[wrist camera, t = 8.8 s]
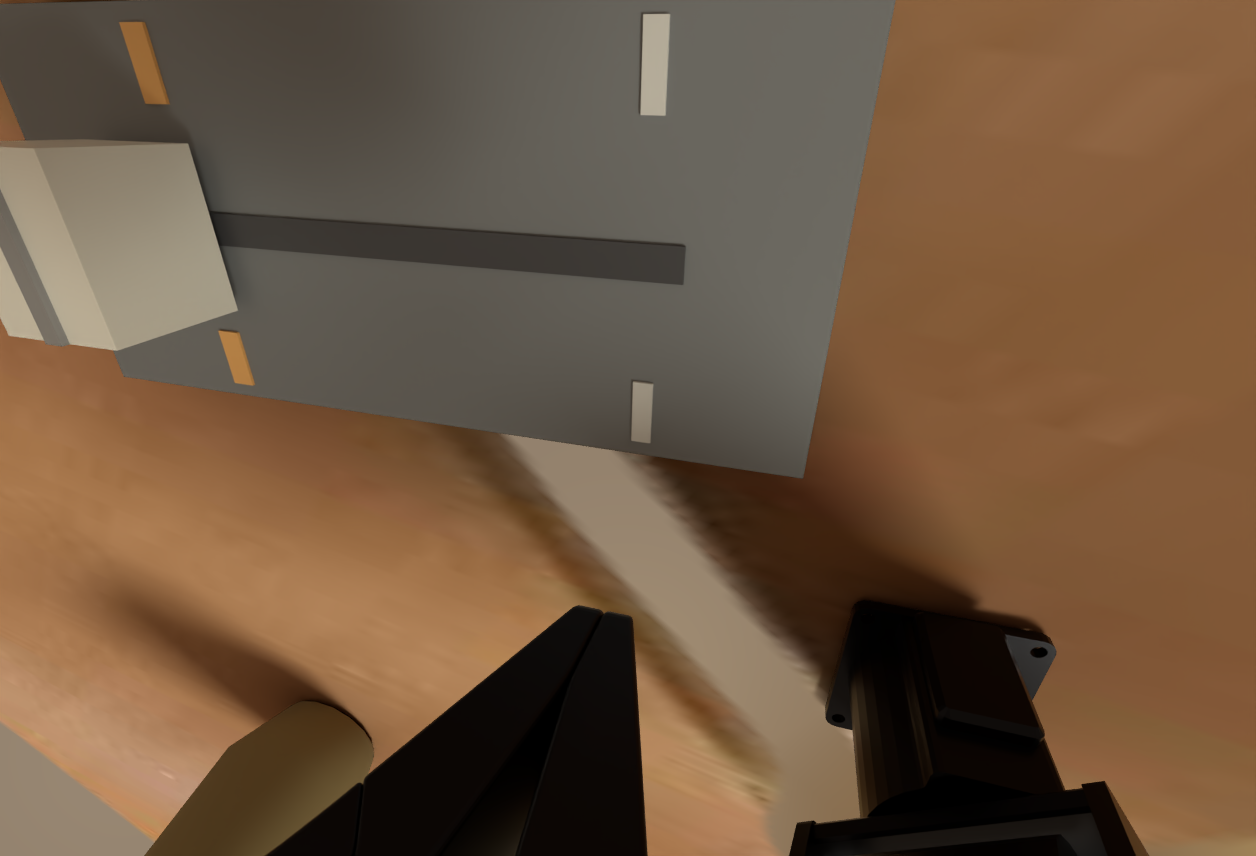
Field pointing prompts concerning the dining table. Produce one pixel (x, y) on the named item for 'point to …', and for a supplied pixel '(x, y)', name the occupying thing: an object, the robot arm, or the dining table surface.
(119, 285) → the cap
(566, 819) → the robot arm
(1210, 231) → the dining table surface
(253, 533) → the dining table surface
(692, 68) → the plate
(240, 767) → the squeeze bottle
